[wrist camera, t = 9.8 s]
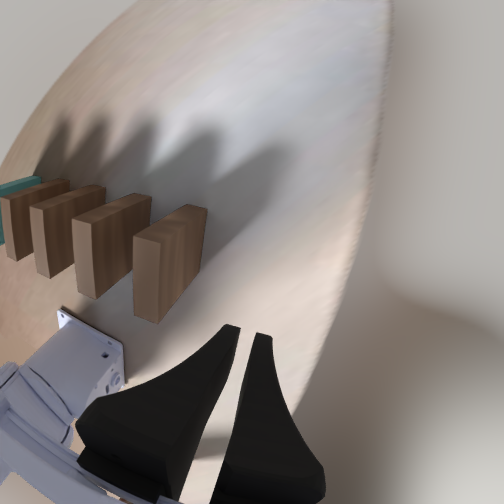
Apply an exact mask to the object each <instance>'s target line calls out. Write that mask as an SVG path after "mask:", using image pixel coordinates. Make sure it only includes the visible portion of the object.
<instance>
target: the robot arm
mask: <svg viewBox="0 0 504 504" xmlns="http://www.w3.org/2000/svg"><path fill="white" fill-rule="evenodd" d="M57 315H58V321H59V326H60V330H59V331H58V332H57V333H55V334H54V335H53V336H52V337H51V338H50V339H49V340H48V341H47V342H46V343H45V344H44V345H42V346H41V347H40V348H39V349H38V350H37V351H36V352H35V353H34V354H33V355H32V356H31V357H30V358H29V359H28V360H27V361H26V362H25V363H24V364H23V365H21V366H19V367H18V365H17V364H16V362H10V361H8V362H6V363H5V364H4V365H3V366H2V367H1V368H0V485H1V484H2V483H3V481H4V480H5V479H6V477H7V476H8V475H9V474H10V472H16V473H17V474H18V475H20V476H21V477H22V478H23V479H24V480H26V481H27V482H28V483H29V484H30V485H32V486H33V487H34V488H35V489H37V490H38V491H39V492H41V493H42V494H43V495H45V496H46V497H47V498H49V499H50V500H51V501H53V502H55V503H56V504H127V503H124V502H122V501H120V500H117V499H115V498H113V497H110V496H108V495H107V493H106V491H105V490H107V491H109V492H111V493H113V494H115V495H117V496H119V497H121V498H123V499H125V500H127V501H129V502H131V503H134V504H183V503H180V502H178V501H179V498H180V495H181V492H182V489H183V486H184V484H185V481H186V478H187V475H188V472H189V469H190V467H191V464H192V461H193V458H194V455H195V453H196V450H197V447H198V444H199V442H200V439H201V436H202V433H203V431H204V428H205V426H206V423H207V421H208V419H209V417H210V415H211V413H212V411H213V409H214V407H215V405H216V403H217V400H218V398H219V396H220V394H221V392H222V390H223V388H224V386H225V384H226V382H227V379H228V376H229V373H230V370H231V367H232V364H233V361H234V356H235V352H236V347H237V343H238V338H239V334H240V329H241V328H239V327H236V326H232V325H229V324H225V325H223V327H222V328H221V329H220V330H219V331H218V332H217V333H216V334H215V335H214V336H213V337H212V338H211V339H210V340H209V341H208V342H207V343H206V344H205V345H204V346H202V347H201V348H200V349H199V350H198V351H196V352H195V353H194V354H193V355H191V356H190V357H189V358H187V359H186V360H184V361H183V362H182V363H180V364H179V365H177V366H176V367H174V368H172V369H171V370H169V371H167V372H165V373H164V374H162V375H160V376H158V377H156V378H154V379H152V380H150V381H147V382H145V383H143V384H140V385H137V386H135V387H132V388H129V389H127V390H124V391H121V392H118V391H119V389H120V388H123V387H124V386H125V381H124V362H123V345H122V344H121V343H120V342H118V341H116V340H115V339H113V338H111V337H109V336H107V335H105V334H103V333H101V332H99V331H98V330H96V329H94V328H92V327H90V326H89V325H87V324H85V323H83V322H82V321H80V320H78V319H76V318H75V317H73V316H71V315H70V314H68V313H66V312H65V311H63V310H61V309H59V310H57ZM272 341H273V338H272V337H271V336H269V335H265V334H262V333H258V332H256V335H255V338H254V341H253V345H252V348H251V352H250V356H249V360H248V363H247V367H246V371H245V374H244V378H243V382H242V386H241V391H240V396H239V401H238V406H237V411H236V417H235V422H234V427H233V431H232V435H231V438H230V441H229V445H228V448H227V451H226V454H225V457H224V460H223V463H222V467H221V470H220V473H219V476H218V479H217V482H216V485H215V488H214V491H213V494H212V497H211V500H210V503H209V504H316V503H318V502H319V501H320V500H322V499H323V498H324V497H325V492H326V483H325V475H324V469H323V466H322V465H321V464H320V463H319V461H318V460H317V459H316V457H315V456H314V455H313V453H312V452H311V450H310V449H309V448H308V446H307V445H306V443H305V441H304V440H303V438H302V436H301V434H300V432H299V431H298V429H297V427H296V425H295V423H294V422H293V419H292V417H291V415H290V413H289V410H288V408H287V405H286V403H285V400H284V398H283V395H282V392H281V388H280V385H279V381H278V377H277V373H276V368H275V363H274V357H273V346H272ZM74 418H77V419H78V420H77V421H76V423H75V427H76V430H77V432H78V434H79V436H80V437H81V439H82V441H83V443H84V444H85V446H86V447H85V448H84V450H83V451H82V453H81V454H80V455H79V454H77V453H75V452H74V451H72V450H70V449H69V448H70V446H71V444H72V442H73V433H74V430H73V427H72V426H71V425H70V424H71V423H72V422H73V420H74ZM97 485H98V486H97ZM99 486H100V487H101V488H100V487H99ZM102 488H103V489H105V490H103V489H102Z"/></svg>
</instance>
